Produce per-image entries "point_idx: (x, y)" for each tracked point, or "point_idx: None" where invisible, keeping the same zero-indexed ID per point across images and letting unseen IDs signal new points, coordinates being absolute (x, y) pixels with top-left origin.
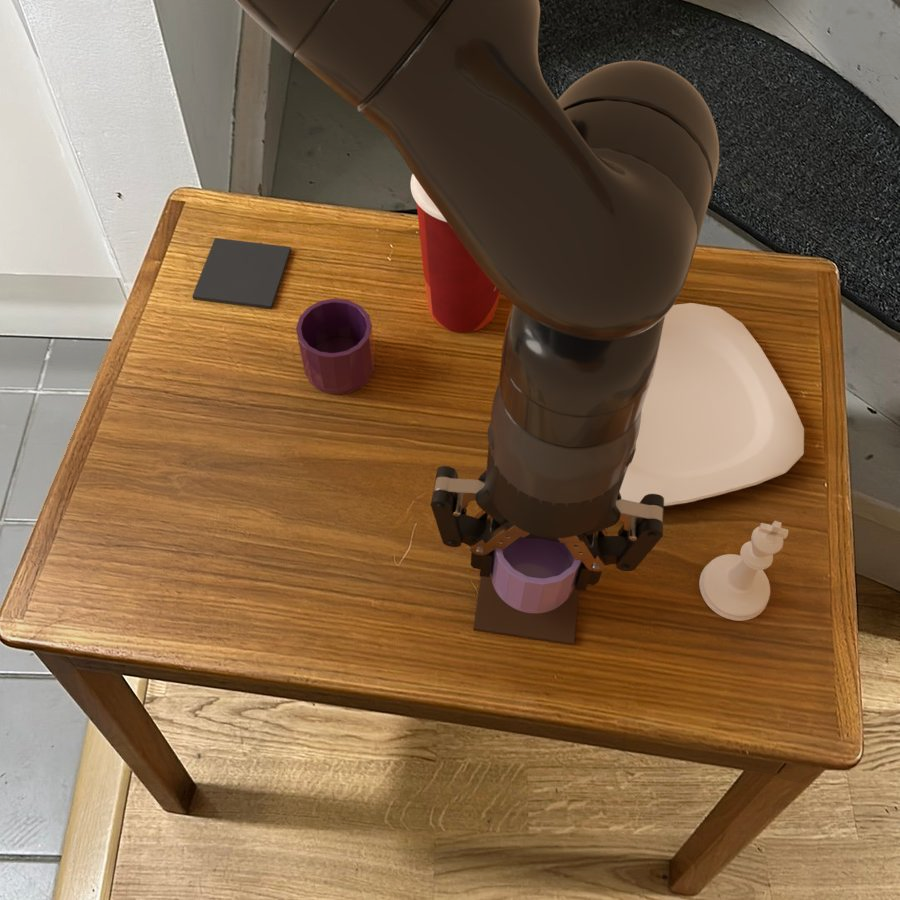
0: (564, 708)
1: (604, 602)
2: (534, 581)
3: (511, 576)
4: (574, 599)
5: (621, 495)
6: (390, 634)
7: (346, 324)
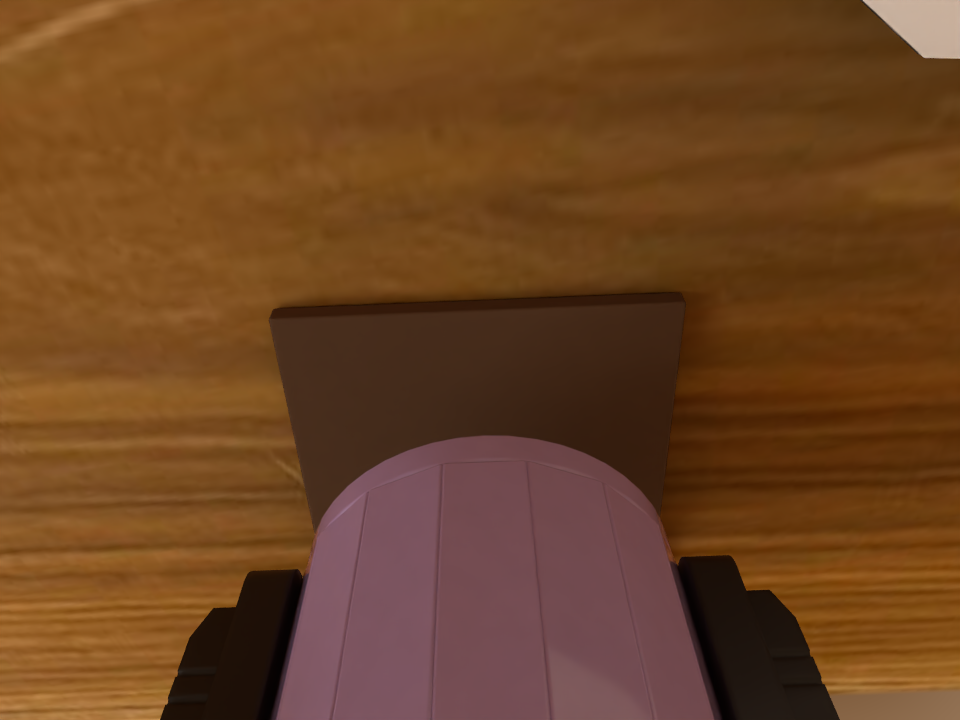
0: None
1: (760, 444)
2: None
3: None
4: (652, 476)
5: (949, 21)
6: (94, 626)
7: None
